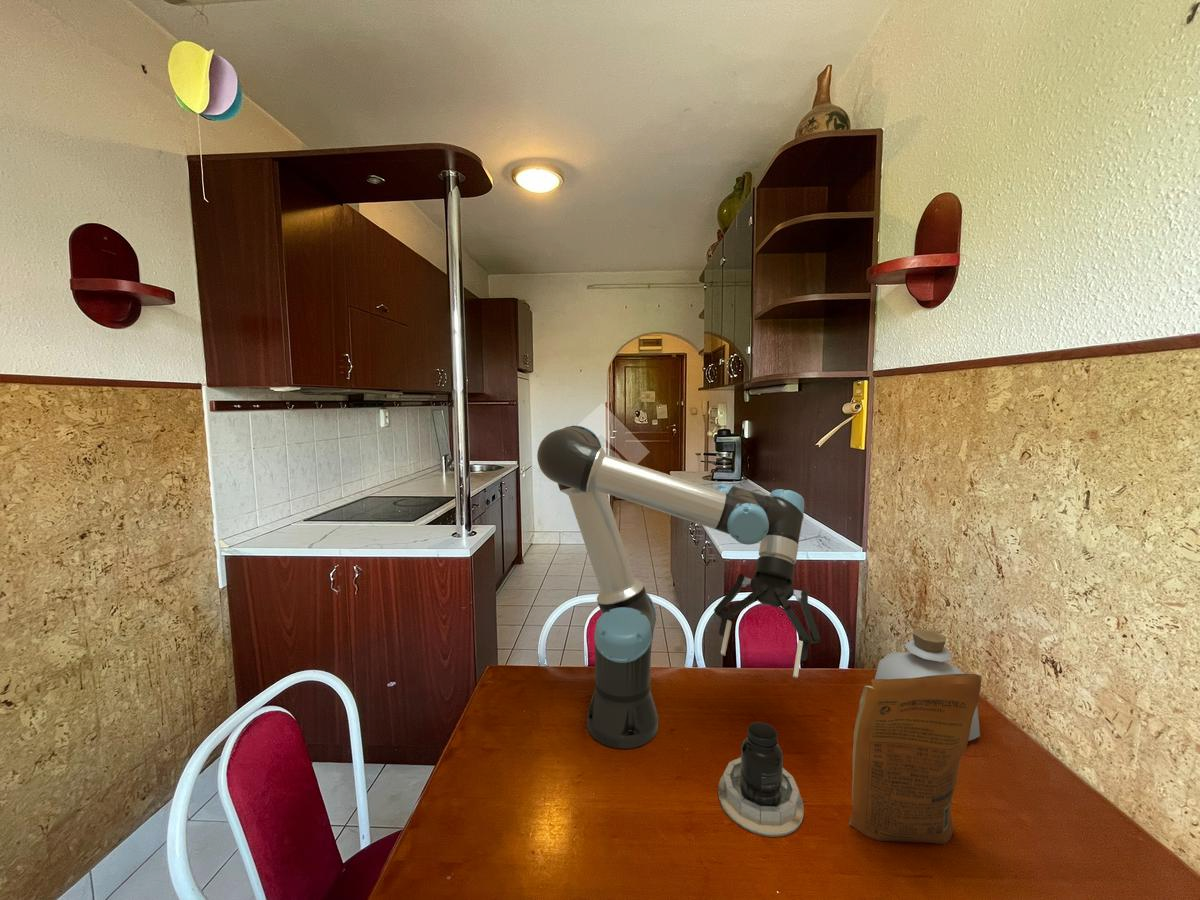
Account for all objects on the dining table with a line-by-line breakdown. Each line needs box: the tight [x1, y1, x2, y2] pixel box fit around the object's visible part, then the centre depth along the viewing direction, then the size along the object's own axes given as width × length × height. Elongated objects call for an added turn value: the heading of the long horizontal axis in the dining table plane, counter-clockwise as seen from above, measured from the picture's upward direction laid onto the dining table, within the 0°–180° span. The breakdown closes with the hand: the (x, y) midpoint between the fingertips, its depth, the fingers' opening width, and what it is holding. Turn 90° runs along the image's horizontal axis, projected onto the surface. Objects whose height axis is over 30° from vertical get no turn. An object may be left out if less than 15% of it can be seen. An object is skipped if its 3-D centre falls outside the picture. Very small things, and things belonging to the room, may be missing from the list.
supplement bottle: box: [740, 721, 784, 807], centre depth 84 cm, size 7×7×12 cm
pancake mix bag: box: [848, 673, 983, 845], centre depth 77 cm, size 7×19×28 cm, turn 87°
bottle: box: [874, 628, 981, 742], centre depth 106 cm, size 20×20×19 cm
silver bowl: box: [717, 756, 805, 838], centre depth 85 cm, size 14×14×4 cm
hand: (757, 665), depth 95 cm, fingers open, 13 cm apart
